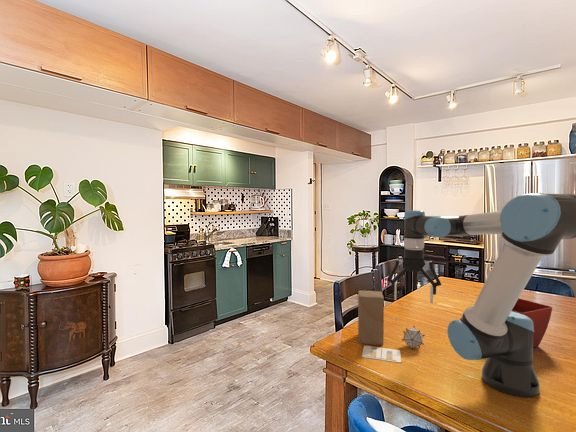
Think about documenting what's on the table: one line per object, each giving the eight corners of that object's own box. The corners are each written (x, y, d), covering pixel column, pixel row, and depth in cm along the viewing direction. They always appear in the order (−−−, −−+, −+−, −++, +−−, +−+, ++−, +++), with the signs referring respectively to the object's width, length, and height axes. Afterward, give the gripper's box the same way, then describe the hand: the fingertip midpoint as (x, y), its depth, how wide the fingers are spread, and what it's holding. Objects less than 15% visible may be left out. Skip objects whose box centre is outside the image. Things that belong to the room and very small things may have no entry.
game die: (409, 357, 126) (394, 338, 126) (411, 342, 133) (397, 324, 133) (429, 352, 121) (414, 332, 120) (431, 337, 128) (416, 318, 127)
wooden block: (383, 345, 128) (383, 297, 128) (358, 343, 130) (358, 296, 130) (381, 336, 138) (381, 291, 137) (358, 334, 140) (358, 290, 139)
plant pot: (475, 337, 137) (475, 299, 136) (505, 330, 144) (506, 294, 143) (521, 356, 119) (522, 313, 118) (553, 348, 126) (554, 307, 125)
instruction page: (400, 362, 114) (400, 362, 114) (361, 357, 119) (361, 356, 119) (400, 350, 124) (400, 350, 124) (364, 345, 128) (364, 345, 128)
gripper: (446, 248, 125) (445, 300, 126) (382, 246, 133) (381, 295, 134) (449, 251, 118) (448, 306, 119) (381, 248, 126) (380, 300, 127)
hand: (413, 300), depth 127 cm, fingers open, 13 cm apart
